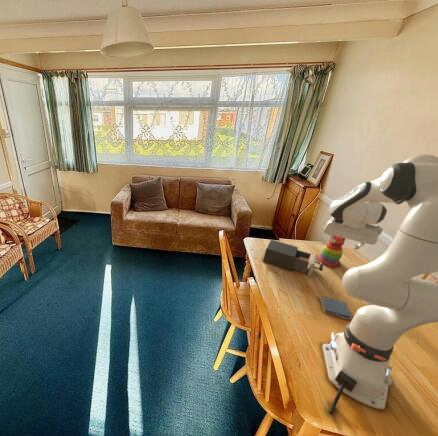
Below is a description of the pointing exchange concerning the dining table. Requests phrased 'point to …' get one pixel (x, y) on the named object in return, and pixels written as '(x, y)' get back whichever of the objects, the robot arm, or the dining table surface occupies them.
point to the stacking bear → (332, 252)
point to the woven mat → (335, 307)
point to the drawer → (305, 262)
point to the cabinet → (280, 254)
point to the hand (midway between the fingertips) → (344, 245)
